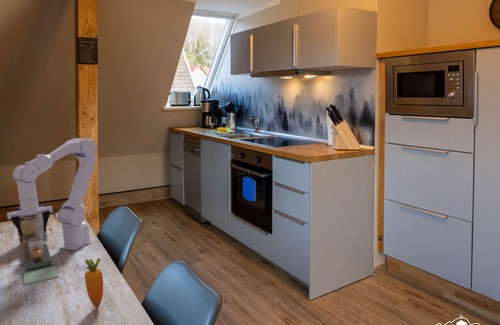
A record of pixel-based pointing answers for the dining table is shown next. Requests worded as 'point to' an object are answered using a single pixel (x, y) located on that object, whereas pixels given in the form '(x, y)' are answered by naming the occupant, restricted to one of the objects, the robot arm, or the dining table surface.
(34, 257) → the hand plane
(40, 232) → the coffee box
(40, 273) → the mat
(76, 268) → the dining table surface
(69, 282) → the dining table surface
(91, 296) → the carrot
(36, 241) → the lever cap
